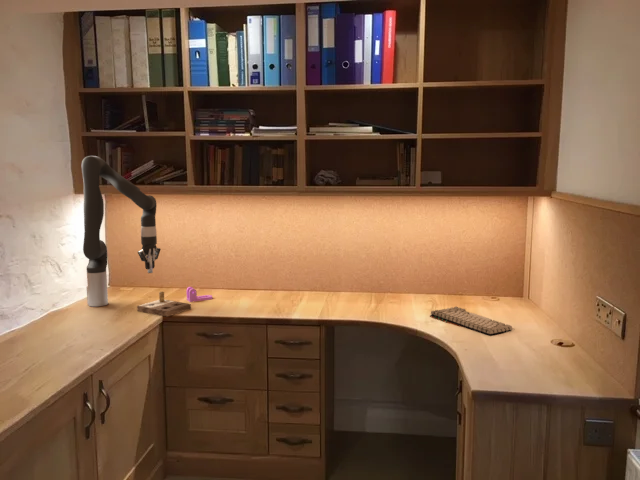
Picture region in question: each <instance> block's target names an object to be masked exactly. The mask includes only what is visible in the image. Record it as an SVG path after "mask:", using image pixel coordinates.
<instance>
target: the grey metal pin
mask: <svg viewBox="0 0 640 480" xmlns="http://www.w3.org/2000/svg"><path fill="white" fill-rule="evenodd" d="M147 256H148V255H147ZM149 262H150V269H147V273H148V274H153V273H154V272H153V269H154V268H152V255H150V259H149Z"/></svg>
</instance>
